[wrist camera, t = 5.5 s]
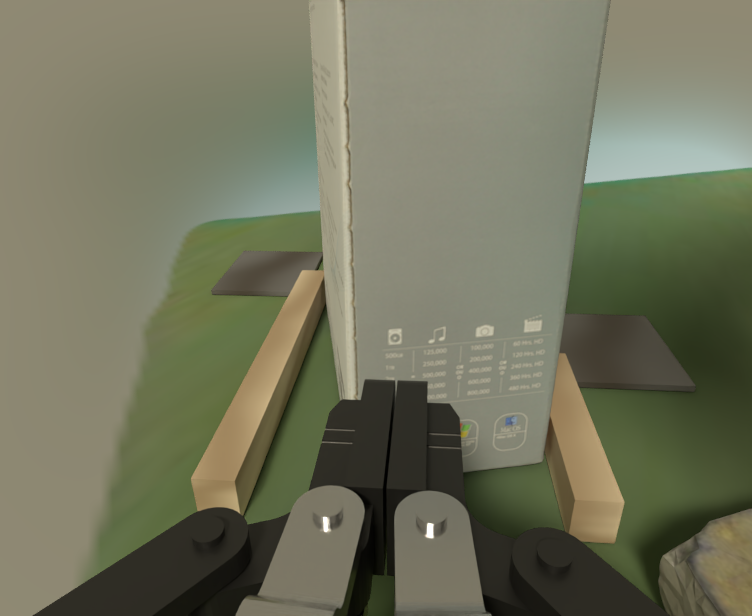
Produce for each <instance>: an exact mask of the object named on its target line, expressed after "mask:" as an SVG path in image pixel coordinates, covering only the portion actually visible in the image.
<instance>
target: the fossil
mask: <svg viewBox="0 0 752 616" xmlns="http://www.w3.org/2000/svg"><path fill="white" fill-rule="evenodd" d="M659 569H660V576H659V580H658V583H659V589H660V595H661V598H662V601H663V605H664V608H665V610H666V613H668V614H669V615H670V616H752V509H748V510H744V511H741V512H738V513H735V514H732V515H728V516H725V517H722V518H718V519H715V520H712V521H709V522H708V523H707V524H706V526H705V527H704V528H703V529H702V530H701V531H700V532H699V533H698V534H696V535H694V536H693V537H692V538H691V539H689V540H687V541H685V542H684V543H682V544H680V545H678V546H677V547H675V548H673V549H672V550H670V551H669V552H667V553H666V554H664V555H663V556H662V558H661V561H660V566H659Z"/></svg>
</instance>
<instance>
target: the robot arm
mask: <svg viewBox="0 0 752 616" xmlns="http://www.w3.org/2000/svg"><path fill="white" fill-rule="evenodd" d="M427 395H428V381H406V380H398V381H397V390H396V384H395V380H376V379H365V381H364V385H363V390H362V396H361V400H349V399H342V400H341V401H340V402H339V403H338V404H337V405H336V406H335V407H334V408H333V409H332V410H331V411H330V413H329V417H328V421H327V424H326V430H325V432H324V435H323V439H322V444H321V447H320V450H319V454H318V458H317V462H316V465H315V469H314V473H313V477H312V480H311V484H310V488H309V491H308V492H306V493H305V494H303V495H302V496H301V497H300V498H299V499H298V500H297V501H296V502H295V504H294V506H293V508H292V510H291V512H290V513H288V514H286V515H284V516H281V517H279V518H276V519H272V520H268V521H263V522H258V523H253V524H249V525H247V522H246V520H245V518H244V517H243V516H242V515H241V514H240V513H239V512H237V511H235V510H233V509H230V508H224V507H213V508H207V509H204V510H201V511H198V512H196V513H194V514H192V515H190V516H188V517H187V518H185V519H184V520H182V521H180V522H179V523H177V524H176V525H174V526H173V527H171V528H170V529H168V530H166V531H165V532H163V533H162V534H160V535H159V536H157V537H155V538H154V539H152V540H151V541H149V542H148V543H146V544H144V545H143V546H141V547H140V548H138V549H137V550H135V551H133V552H132V553H130V554H129V555H127V556H126V557H124V558H122V559H121V560H119V561H118V562H116V563H115V564H113V565H111V566H110V567H108V568H107V569H105V570H104V571H102V572H100V573H99V574H97V575H96V576H94V577H93V578H91V579H89V580H88V581H86V582H85V583H83V584H82V585H80V586H78V587H77V588H75V589H74V590H72V591H71V592H69V593H68V594H66V595H64V596H63V597H61V598H60V599H58V600H57V601H55V602H54V603H52V604H50V605H49V606H47V607H46V608H44V609H42V610H41V611H39V612H38V613H36V614H35V615H33V616H367V614H368V601H369V599H370V594H371V585H372V576H373V575H384V570H385V559H386V548H387V575H389V576H394V589H395V599H394V616H670V615H669V614H668V613H666V612H665V611H664V610H663V609H662V608H660V607H659V606H658V605H657V604H656V603H654V602H653V601H652V600H651V599H650V598H648V597H647V596H646V595H645V594H644V593H642V592H641V591H640V590H639V589H638V588H636V587H635V586H634V585H633V584H632V583H630V582H629V581H628V580H627V579H626V578H624V577H623V576H622V575H621V574H620V573H618V572H617V571H616V570H615V569H614V568H612V567H611V566H610V565H609V564H608V563H606V562H605V561H604V560H603V559H602V558H600V557H599V556H598V555H597V554H596V553H594V552H593V551H592V550H591V549H590V548H588V547H587V546H586V545H585V544H584V543H582V542H581V541H580V540H578V539H577V538H576V537H574V536H572V535H571V534H569V533H566V532H564V531H561V530H558V529H554V528H542V527H541V528H534V529H530V530H528V531H526V532H524V533H522V534H521V535H520V536H519V537H518V538H517V539H514V538H511V537H508V536H505V535H502V534H499V533H497V532H494V531H492V530H490V529H488V528H486V527H485V526H483V525H482V524H480V523H479V522H478V521H477V520H476V519H475V518H474V517H473V516H472V515H471V513H470V511H469V510H468V508H467V505H466V502H465V492H464V477H463V461H462V450H461V448H462V446H461V431H460V418H459V416H458V415H457V413H456V412H455V410H454V409H453V407H452V406H451V405H450V403H427Z"/></svg>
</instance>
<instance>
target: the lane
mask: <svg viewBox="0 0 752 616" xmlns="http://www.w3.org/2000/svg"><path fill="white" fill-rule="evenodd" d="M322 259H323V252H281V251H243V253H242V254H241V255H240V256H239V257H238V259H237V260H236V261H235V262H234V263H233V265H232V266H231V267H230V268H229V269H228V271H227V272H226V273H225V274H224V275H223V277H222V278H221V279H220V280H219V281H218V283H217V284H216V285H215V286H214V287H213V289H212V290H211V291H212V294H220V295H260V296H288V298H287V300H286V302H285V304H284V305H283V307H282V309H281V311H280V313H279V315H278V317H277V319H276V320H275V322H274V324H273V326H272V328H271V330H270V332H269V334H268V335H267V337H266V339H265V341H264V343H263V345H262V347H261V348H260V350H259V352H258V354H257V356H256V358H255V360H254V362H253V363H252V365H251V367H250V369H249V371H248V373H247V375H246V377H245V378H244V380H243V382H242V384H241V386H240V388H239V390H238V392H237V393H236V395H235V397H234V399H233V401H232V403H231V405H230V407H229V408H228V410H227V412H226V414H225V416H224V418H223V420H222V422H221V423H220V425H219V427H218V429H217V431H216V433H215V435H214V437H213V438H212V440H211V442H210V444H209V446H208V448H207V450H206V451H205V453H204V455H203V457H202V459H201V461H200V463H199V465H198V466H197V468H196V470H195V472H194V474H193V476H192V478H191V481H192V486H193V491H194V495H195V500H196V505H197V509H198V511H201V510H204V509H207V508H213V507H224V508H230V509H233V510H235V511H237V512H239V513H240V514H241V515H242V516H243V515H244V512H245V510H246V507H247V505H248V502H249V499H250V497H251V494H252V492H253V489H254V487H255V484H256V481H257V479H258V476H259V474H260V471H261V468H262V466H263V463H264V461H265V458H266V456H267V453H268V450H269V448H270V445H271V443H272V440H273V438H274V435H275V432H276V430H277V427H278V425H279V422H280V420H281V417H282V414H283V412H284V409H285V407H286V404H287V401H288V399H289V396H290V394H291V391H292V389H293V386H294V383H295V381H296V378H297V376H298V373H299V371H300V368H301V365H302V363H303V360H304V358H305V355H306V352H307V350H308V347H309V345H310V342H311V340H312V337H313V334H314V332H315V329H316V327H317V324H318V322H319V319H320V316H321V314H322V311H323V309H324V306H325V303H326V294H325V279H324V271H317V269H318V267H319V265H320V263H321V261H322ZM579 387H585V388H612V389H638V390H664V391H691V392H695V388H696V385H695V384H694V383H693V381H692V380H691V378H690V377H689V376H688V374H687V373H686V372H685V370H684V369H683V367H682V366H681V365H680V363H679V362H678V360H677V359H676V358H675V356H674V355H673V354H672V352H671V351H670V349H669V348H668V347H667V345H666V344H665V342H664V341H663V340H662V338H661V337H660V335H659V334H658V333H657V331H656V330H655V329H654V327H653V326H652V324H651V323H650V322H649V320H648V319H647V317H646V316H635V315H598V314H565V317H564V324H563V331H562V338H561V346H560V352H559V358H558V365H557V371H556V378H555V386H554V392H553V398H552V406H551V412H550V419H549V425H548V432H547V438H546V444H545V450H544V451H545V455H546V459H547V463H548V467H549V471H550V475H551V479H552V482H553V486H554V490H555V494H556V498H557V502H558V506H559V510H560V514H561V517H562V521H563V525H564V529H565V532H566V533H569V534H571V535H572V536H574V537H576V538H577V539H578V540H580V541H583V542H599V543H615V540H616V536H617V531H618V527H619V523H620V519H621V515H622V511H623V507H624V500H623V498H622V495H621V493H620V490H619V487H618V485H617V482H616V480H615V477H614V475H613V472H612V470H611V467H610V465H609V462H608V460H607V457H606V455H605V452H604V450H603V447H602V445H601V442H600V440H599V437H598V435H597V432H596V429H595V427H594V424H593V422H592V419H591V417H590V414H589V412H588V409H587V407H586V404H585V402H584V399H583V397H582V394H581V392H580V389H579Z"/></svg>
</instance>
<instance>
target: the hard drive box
mask: <svg viewBox="0 0 752 616" xmlns="http://www.w3.org/2000/svg"><path fill="white" fill-rule="evenodd" d="M610 1H611V0H309V12H310V28H311V46H312V63H313V64H312V65H313V82H314V99H315V100H314V101H315V118H316V138H317V156H318V175H319V192H320V210H321V227H322V245H323V264H324V279H325V294H326V305H327V313H328V319H329V325H330V333H331V339H332V345H333V352H334V361H335V368H336V375H337V382H338V389H339V396H340V401H341V400H342V399H349V400H361V396H362V390H363V385H364V381H365V379H376V380H395V384H396V390H397V381H398V380H406V381H428V395H427V403H450V405H451V406H452V407H453V409H454V410H455V412H456V413H457V415H458V416H459V418H460V431H461V446H462V448H461V450H462V461H463V472H471V471H479V470H488V469H496V468H505V467H513V466H521V465H529V464H537V463H540V462H542V460H543V459H544V450H545V444H546V438H547V432H548V425H549V419H550V412H551V406H552V398H553V392H554V386H555V378H556V371H557V365H558V358H559V352H560V346H561V338H562V331H563V324H564V317H565V310H566V303H567V296H568V289H569V282H570V275H571V269H572V262H573V255H574V248H575V241H576V234H577V227H578V221H579V214H580V207H581V200H582V193H583V186H584V179H585V173H586V172H585V171H586V166H587V159H588V152H589V145H590V138H591V131H592V124H593V117H594V111H595V103H596V97H597V90H598V83H599V76H600V69H601V63H602V56H603V49H604V42H605V35H606V28H607V22H608V15H609V8H610Z"/></svg>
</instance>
